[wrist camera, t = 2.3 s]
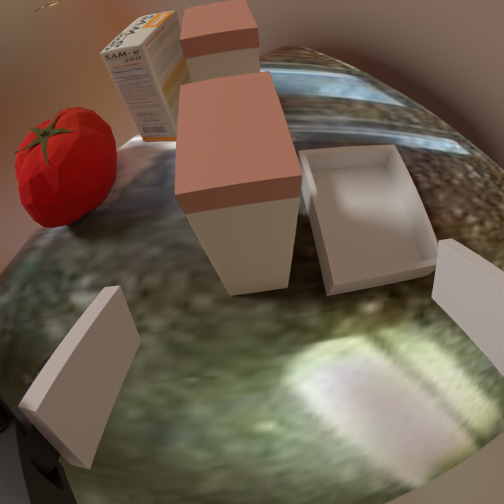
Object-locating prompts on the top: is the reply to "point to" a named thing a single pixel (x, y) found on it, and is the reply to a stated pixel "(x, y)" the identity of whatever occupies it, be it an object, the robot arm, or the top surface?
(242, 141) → the stub
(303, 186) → the tray
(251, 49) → the block
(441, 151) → the top surface
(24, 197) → the tomato
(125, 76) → the supplement box
